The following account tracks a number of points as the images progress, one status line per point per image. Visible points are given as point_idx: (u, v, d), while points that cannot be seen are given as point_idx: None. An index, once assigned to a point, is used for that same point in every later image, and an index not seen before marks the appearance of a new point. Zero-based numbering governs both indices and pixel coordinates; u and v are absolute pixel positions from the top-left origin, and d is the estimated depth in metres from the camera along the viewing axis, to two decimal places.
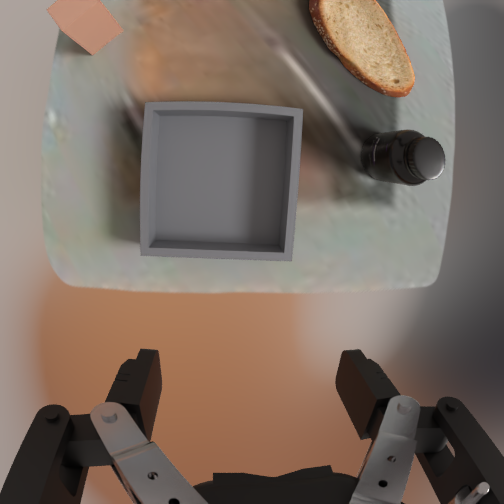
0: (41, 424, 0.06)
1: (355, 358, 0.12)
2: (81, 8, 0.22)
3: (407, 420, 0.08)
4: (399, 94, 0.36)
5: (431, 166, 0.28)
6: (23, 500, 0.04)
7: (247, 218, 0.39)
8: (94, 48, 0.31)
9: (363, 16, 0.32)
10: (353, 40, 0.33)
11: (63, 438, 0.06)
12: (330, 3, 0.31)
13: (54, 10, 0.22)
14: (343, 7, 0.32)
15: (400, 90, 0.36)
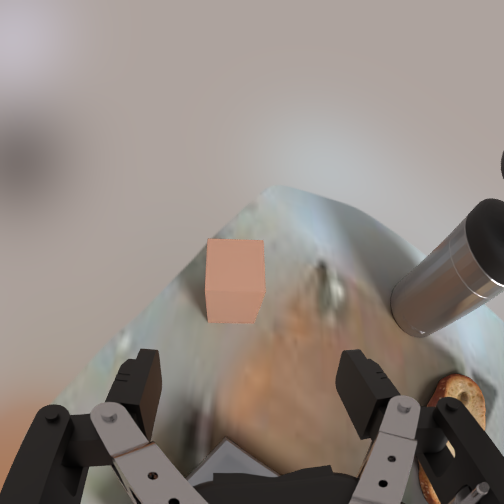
0: (41, 424, 0.06)
1: (355, 358, 0.12)
2: (242, 282, 0.29)
3: (407, 420, 0.08)
4: None
5: None
6: (23, 500, 0.04)
7: None
8: (214, 319, 0.35)
9: None
10: None
11: (63, 438, 0.06)
12: None
13: (214, 250, 0.30)
14: None
15: None
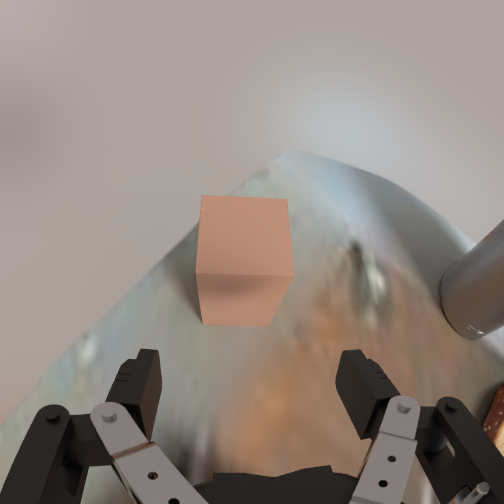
0: (41, 424, 0.06)
1: (355, 358, 0.12)
2: (256, 260, 0.18)
3: (407, 420, 0.08)
4: None
5: None
6: (23, 500, 0.04)
7: None
8: (212, 320, 0.25)
9: None
10: None
11: (63, 438, 0.06)
12: None
13: (211, 211, 0.19)
14: None
15: None
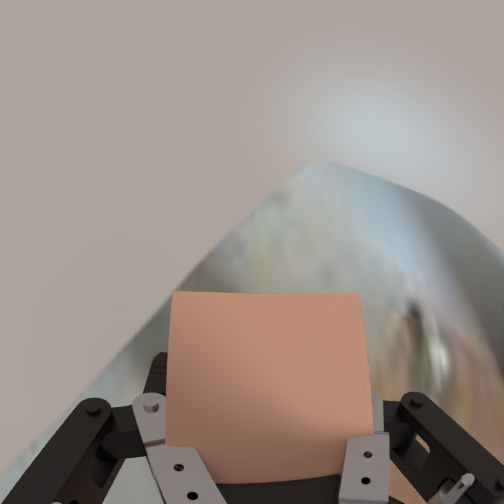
0: (80, 415, 0.07)
1: None
2: (300, 455, 0.07)
3: None
4: None
5: None
6: (44, 485, 0.04)
7: None
8: None
9: None
10: None
11: (99, 432, 0.07)
12: None
13: (195, 337, 0.08)
14: None
15: None
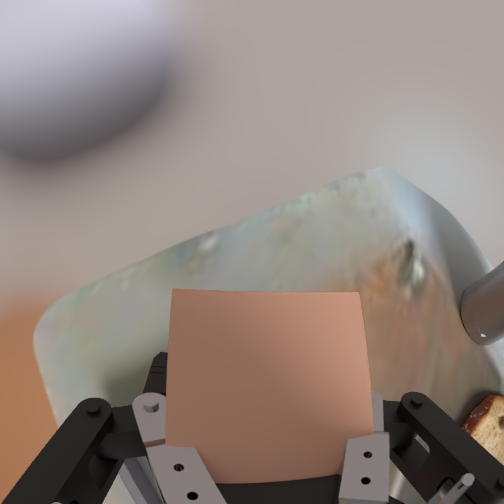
0: (80, 415, 0.07)
1: None
2: (300, 453, 0.07)
3: None
4: None
5: None
6: (44, 485, 0.04)
7: None
8: None
9: (495, 453, 0.23)
10: None
11: (100, 432, 0.07)
12: (489, 422, 0.25)
13: (195, 335, 0.08)
14: (492, 433, 0.25)
15: None
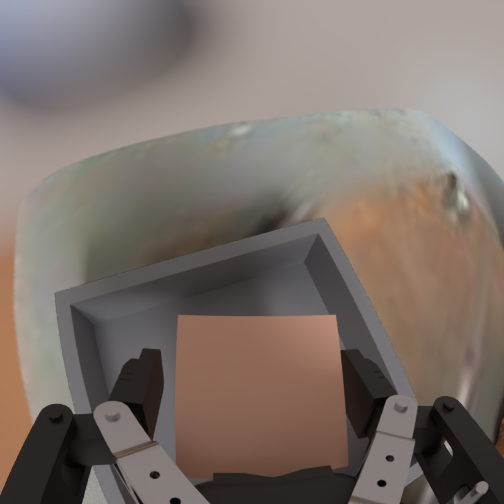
0: (44, 423, 0.06)
1: (352, 357, 0.12)
2: (284, 449, 0.08)
3: (404, 419, 0.08)
4: None
5: None
6: (24, 499, 0.04)
7: (190, 479, 0.15)
8: None
9: None
10: None
11: (66, 437, 0.06)
12: None
13: (198, 353, 0.10)
14: None
15: None
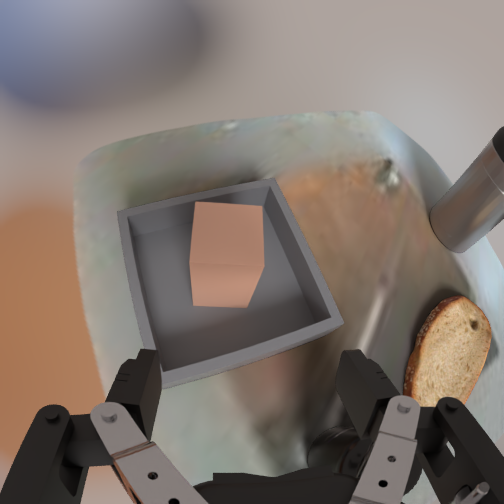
0: (41, 424, 0.06)
1: (355, 358, 0.12)
2: (235, 253, 0.23)
3: (407, 420, 0.08)
4: None
5: None
6: (23, 500, 0.04)
7: (187, 327, 0.30)
8: (201, 302, 0.30)
9: (466, 349, 0.32)
10: (440, 350, 0.31)
11: (63, 438, 0.06)
12: (459, 312, 0.34)
13: (202, 215, 0.24)
14: (463, 326, 0.33)
15: None
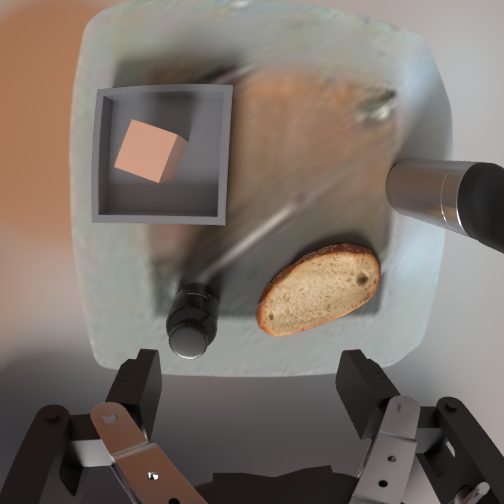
0: (41, 424, 0.06)
1: (355, 358, 0.12)
2: (143, 168, 0.31)
3: (407, 420, 0.08)
4: (258, 318, 0.48)
5: (180, 344, 0.36)
6: (23, 500, 0.04)
7: (129, 181, 0.40)
8: None
9: (338, 293, 0.47)
10: (311, 279, 0.46)
11: (63, 438, 0.06)
12: (351, 264, 0.45)
13: (133, 132, 0.30)
14: (347, 275, 0.46)
15: (262, 319, 0.47)
